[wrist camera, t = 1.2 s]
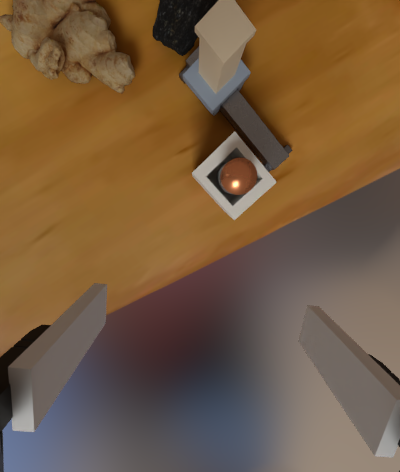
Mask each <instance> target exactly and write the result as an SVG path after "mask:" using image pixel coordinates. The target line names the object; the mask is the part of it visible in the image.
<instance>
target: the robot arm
mask: <svg viewBox="0 0 400 472" xmlns="http://www.w3.org/2000/svg"><path fill="white" fill-rule="evenodd" d="M106 299H107V284H98V283H94V284H93V285H92V286H91V287H90V288H89V289H88V290H87V291H86V292H85V293H84V294H83V295H82V296H81V297H80V298H79V299H78V300H77V301H76V302H75V303H74V304H73V305H72V306H71V307H70V308H69V309H68V310H66V311H65V312H64V313H63V314H62V315H61V316H60V317H59V318H58V319H57V320H56V321H55V322H54V323H53V324H52V325H41V326H39V327H37V328H35V329H33V330H31V331H30V332H29V333H28V334H26V335H25V336H24V337H23V338H22V339H21V341H18V342H17V343H16V344H15V345H14V347H12V348H10V349H9V350H8V351H7V352H6V353H5V354H4V355H2V356H1V357H0V472H4V471H3V433H2V430H3V429H4V427H5V426H6V425H7V423H8V422H9V421H10V420H11V418H12V428H13V431H27V432H35V430H36V428H37V427H38V425H39V424H40V422H41V421H42V419H43V418H44V416H45V415H46V413H47V412H48V410H49V409H50V407H51V406H52V404H53V403H54V401H55V399H56V398H57V396H58V395H59V393H60V392H61V390H62V389H63V387H64V385H65V384H66V383H67V381H68V380H69V378H70V377H71V375H72V374H73V372H74V370H75V369H76V367H77V366H78V364H79V363H80V361H81V360H82V358H83V356H84V355H85V354H86V352H87V351H88V349H89V347H90V346H91V344H92V343H93V341H94V340H95V338H96V337H97V335H98V334H99V332H100V330H101V329H102V327H103V326H104V325H105V323H106ZM299 343H300V344H301V346H302V347H303V349H304V351H305V352H306V354H307V355H308V357H309V358H310V359H311V361H312V362H313V364H314V366H315V367H316V368H317V370H318V372H319V373H320V374H321V376H322V378H323V379H324V381H325V382H326V384H327V385H328V387H329V388H330V390H331V391H332V393H333V394H334V395H335V397H336V399H337V400H338V402H339V403H340V404H341V406H342V408H343V409H344V411H345V412H346V414H347V415H348V417H349V418H350V420H351V421H352V423H353V424H354V426H355V427H356V428H357V430H358V432H359V433H360V435H361V436H362V438H363V439H364V441H365V442H366V444H367V445H368V447H369V448H370V450H371V451H372V453H373V454H374V455H375V456H380V457H393V456H394V454H395V452H396V449H397V447H398V445H399V447H400V380H399V378H398V377H396V376H395V375H394V374H393V373H391V371H390V370H389V369H388V368H387V367H386V366H385V365H384V364H383V363H382V362H380V361H379V360H377V359H376V358H374V357H373V356H371V355H369V354H367V353H366V352H365V351H364V350H363V349H362V348H361V347H360V346H359V345H357V343H356V342H355V341H354V340H353V339H352V338H351V337H349V336H348V335H347V334H346V333H345V332H344V331H343V330H342V329H341V328H340V327H339V326H338V325H337V324H336V323H335V322H334V321H333V320H332V319H331V318H330V317H329V316H328V315H327V314H326V313H325V312H324V311H323V310H322V309H321V308H320V307H319V306H310V305H308V306H307V309H306V314H305V317H304V321H303V325H302V329H301V333H300V337H299ZM399 472H400V471H399Z"/></svg>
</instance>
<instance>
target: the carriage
mask: <svg viewBox="0 0 400 472" xmlns="http://www.w3.org/2000/svg"><path fill="white" fill-rule="evenodd" d="M255 32H256V29H255V27H254V26H253V25H252V23H251V22H250V21H249V19H248V18H247V16H246V15H245V14H244V12H243V11H242V10H241V8H240V7H239V5H238V4H237V3H236V1H235V0H218V1H217V3H216V4H215V5H214V6H213V7H212V8H211V9H210V10H209V11H208V12H207V14H206V15H205V16H204V17H203V18H202V19H201V20H200V21H199V22H198V23H197V24H196V26H195V33H196V34H197V35H198V37H199V38H200V41H199V58H198V59H197V60H196V61H195V62H194V63H193V64H192V66H191V67H190V68H189V69H188V70H187V71H186V72H185V73H184V74H183V80H184V81H185V83H186V84H187V85H188V86H189V88H190V89H191V90H192V91H193V92H194V94H195V95H196V96H197V97H198V98H199V100H200V101H201V102H202V103H203V104H204V106H205V107H206V108H207V109H208V110H209V112H210V113H211V114H213V116H215V115H216V114H217V113H218V112H219V109H220V106H221V105H222V104H223V103H224V102H225V101H226V100H227V99H228V98H229V97H230V96H231V95H232V94H233V93H234V92H235V91H236V90H238V91H240V90H241V88H242V86H243V84H244V82H245V81H246V80H247V79H248V77H249V75H250V73H251V72H250V71H249V69H248V68H247V67H246V65H245V64H244V63H243V61H242V60H241V57H242V54H243V51H244V48H245V46H246V43H247V42H248V41H249V40H250V39H251V38H252V37H253V36H254V34H255Z"/></svg>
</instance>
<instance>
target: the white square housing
mask: <svg viewBox="0 0 400 472" xmlns="http://www.w3.org/2000/svg"><path fill="white" fill-rule="evenodd" d="M240 157H241V158H246V159H248V160H250V161H251V162H252V163H253V164H254V165H255V167H256V170H257V181H256V184H255V186H254V187H253V188H252V189H251V190H250V191H249V192H248V193H246V194H242V195H235V194H230V193H226V192H224V191H222V190H221V189H220V188H219V187H218V185H217V181H216V176H217V172H218V170H219V169H220V168H221V167H222V166H223V165H225V164H226V163H227V162H229V161H230V160H232V159H234V158H240ZM192 176H193V177H194V178H195V179H196V181H197V182H198V183H199V184H200V185H201V186H202V187H203V188H204V189H205V191H206V192H207V193H208V194H209V195H210V196H211V197H212V198H213V199H214V200H215V202H216V203H217V204H218V205H219V206H220V207H221V208H222V209H223V210H224V212H226V213H227V214H228V215H229V216H230V217H231V218H233V219H234V220H235V219H236V218H237V217H238V216H240V215H241V214H242V213H243V212H244V211H245V210H246V209H247V208H248V207H250V206H251V205H252V204H253V203H254V202H255V201H256V200H257V199H258V198H260V197H261V196H262V195H263V194H264V193H265V192H266V191H267V190H268V189H270V188H271V187H272V186H273V185H274V184H275V183H276V181H275V180H274V178H273V177H272V176H271V175H270V173H269V172H268V171H267V170H266V169H265V167H264V166H263V165H262V164H261V162H260V161H259V160H258V159H257V158H256V156H255V155H254V154H253V153H252V152H251V150H250V149H249V148H248V147H247V145H246V144H245V143H244V142H243V141H242V139H241V138H240V137H239V136H238V134H237V133H236V132H233V133H232V134H231V135H230V136H229V137H228V138H227V139H226V140H225V141H224V142H223V143H222V144H221V145H220V146H219V147H218V148H217V149H216V150H215V151H214V152H213V153H212V154H211V155H210V156H209V157H208V158H207V159H206V160H205V161H204V162H203V163H202V164H201V165H199V166H198V167H197V168H196V169H195V170H194V171H193V172H192Z"/></svg>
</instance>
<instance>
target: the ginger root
mask: <svg viewBox="0 0 400 472" xmlns="http://www.w3.org/2000/svg"><path fill="white" fill-rule="evenodd" d="M12 7H13V10H14V14H13V15H6V14H5V15H2V16H0V22H1V23H2V24H3V25H4V26H5V28H6V29H7V30H9V31H11V32H12V33H11V34H12V43H13V46H14V48H15V49H16V50H17V51H18V52H19V53H20V54H21V55H22V56H23V57H24V58H27V59H30V60H31V62H32V64H33V65H34V66H35V68H36V69H37V70H38V71H41V72H42V73H43V75H45V76H46V77H47V78H49V79H51V80H52V79H53V78H54V79H55V78H58V74H59V73H60V71H62V72H63V73H64V74H65V75H66V76H67V78H68V79H69V80H70V81H72V82H75V83H84V84H85V83H88V82H89V81H90V79H91V75H93V76H95V77H96V78H98V79H99V80H100V81H101V82H102V83H103V84H106V85H108V86H109V87H111V88H112V89H114V90H115V91H117V92H119V93H123V92H124V86H125V85H129V84H130V83H131V82H132V79H133V78H134V77H135V72H134V68H133V66H132V64H131V60H130V56H129V55H128V54H125V53H121V52H116V47H117V45H116V42H115V36H114V35H113V34H112V33H111V31H110V30H108V28H109V26H110V23H111V20H110V18H109V16H108V14H107V13H106V11H105V9H104V8H103V7H101V6H100V5H99V4H98V3H97V2H96V0H13V6H12Z"/></svg>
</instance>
